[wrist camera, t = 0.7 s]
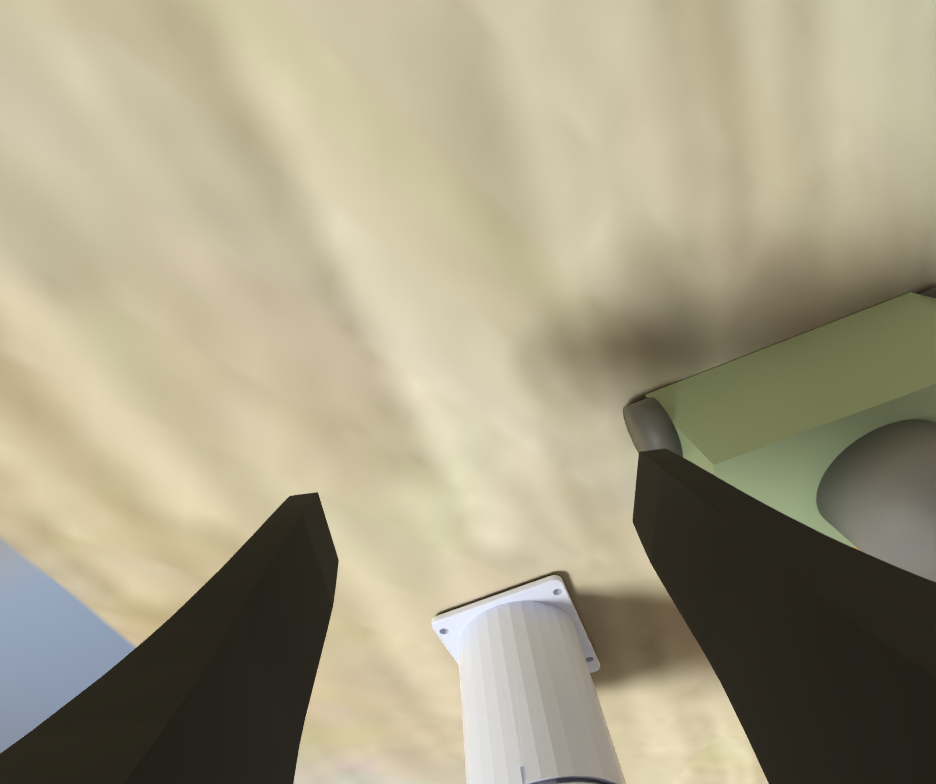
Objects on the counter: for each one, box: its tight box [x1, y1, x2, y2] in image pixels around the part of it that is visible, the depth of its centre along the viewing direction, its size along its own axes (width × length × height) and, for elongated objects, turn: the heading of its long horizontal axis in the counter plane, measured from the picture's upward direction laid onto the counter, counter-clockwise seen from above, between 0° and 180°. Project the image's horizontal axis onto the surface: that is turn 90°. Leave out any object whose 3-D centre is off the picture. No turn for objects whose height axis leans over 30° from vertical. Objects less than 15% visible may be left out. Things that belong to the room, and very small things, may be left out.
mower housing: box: [623, 287, 936, 582], centre depth 19 cm, size 16×14×8 cm
